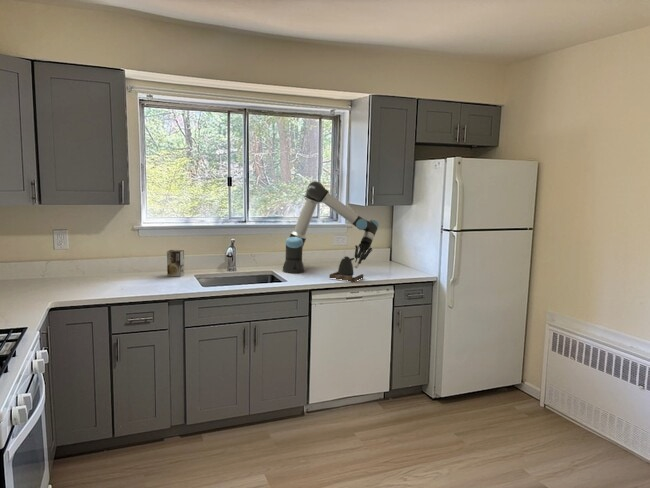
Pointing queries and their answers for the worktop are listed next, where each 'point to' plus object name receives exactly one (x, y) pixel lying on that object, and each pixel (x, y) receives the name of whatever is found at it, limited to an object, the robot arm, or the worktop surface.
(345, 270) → the dark grey tapered dome
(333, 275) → the walnut bay
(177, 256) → the coffee box
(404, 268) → the worktop surface
